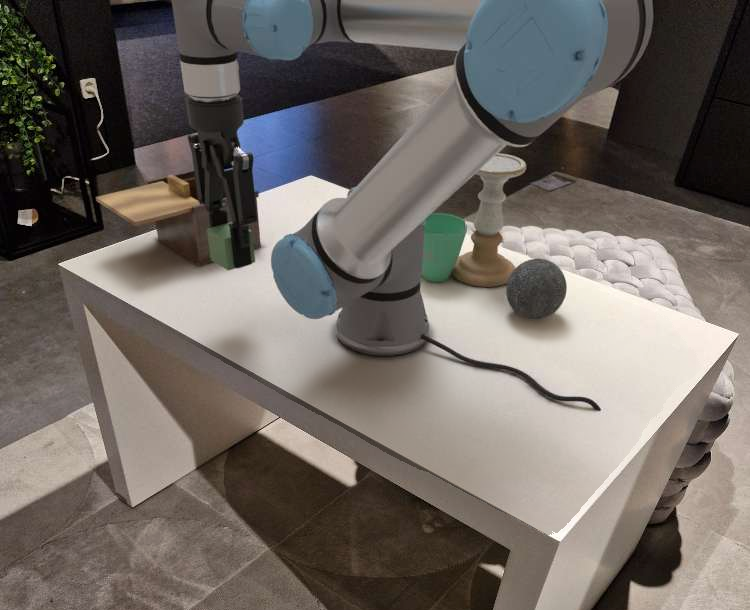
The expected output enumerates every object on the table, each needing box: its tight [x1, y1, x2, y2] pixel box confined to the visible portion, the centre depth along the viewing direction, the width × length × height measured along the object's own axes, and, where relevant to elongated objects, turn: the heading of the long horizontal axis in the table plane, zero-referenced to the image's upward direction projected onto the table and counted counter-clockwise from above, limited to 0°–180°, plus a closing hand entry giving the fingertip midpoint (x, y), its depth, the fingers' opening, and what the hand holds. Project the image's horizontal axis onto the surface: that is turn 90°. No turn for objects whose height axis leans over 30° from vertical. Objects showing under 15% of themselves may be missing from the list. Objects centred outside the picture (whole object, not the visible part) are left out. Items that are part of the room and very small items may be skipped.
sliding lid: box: [95, 174, 200, 227], centre depth 135 cm, size 15×14×3 cm
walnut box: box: [145, 169, 262, 267], centre depth 144 cm, size 18×14×11 cm
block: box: [207, 222, 256, 271], centre depth 114 cm, size 5×5×5 cm
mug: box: [421, 212, 468, 283], centre depth 137 cm, size 15×10×10 cm
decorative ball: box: [505, 258, 568, 321], centre depth 125 cm, size 10×10×10 cm
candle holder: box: [451, 152, 527, 288], centre depth 134 cm, size 12×12×20 cm
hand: (232, 259), depth 116 cm, fingers closed on block, 5 cm apart
